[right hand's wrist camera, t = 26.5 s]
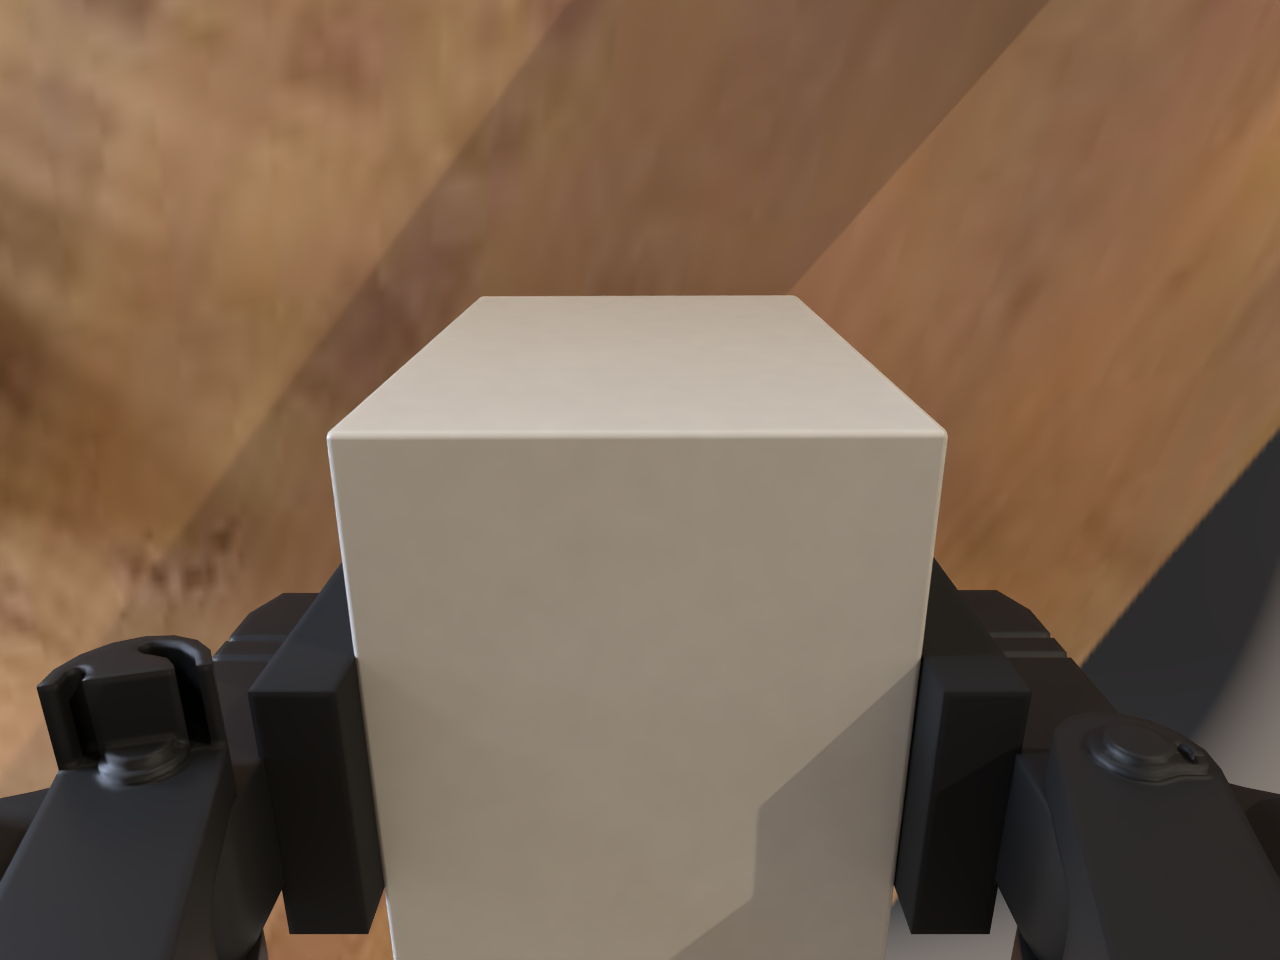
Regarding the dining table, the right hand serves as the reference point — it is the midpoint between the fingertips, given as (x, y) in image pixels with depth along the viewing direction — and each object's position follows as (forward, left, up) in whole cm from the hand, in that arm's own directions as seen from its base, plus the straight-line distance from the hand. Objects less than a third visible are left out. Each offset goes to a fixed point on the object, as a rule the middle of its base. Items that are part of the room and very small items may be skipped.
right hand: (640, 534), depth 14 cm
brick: (0, 0, -2) cm, 2 cm away
